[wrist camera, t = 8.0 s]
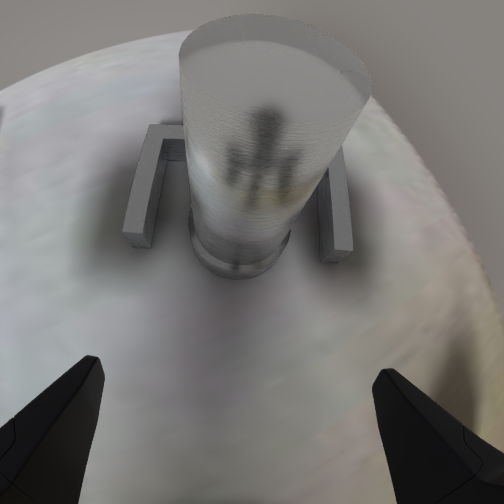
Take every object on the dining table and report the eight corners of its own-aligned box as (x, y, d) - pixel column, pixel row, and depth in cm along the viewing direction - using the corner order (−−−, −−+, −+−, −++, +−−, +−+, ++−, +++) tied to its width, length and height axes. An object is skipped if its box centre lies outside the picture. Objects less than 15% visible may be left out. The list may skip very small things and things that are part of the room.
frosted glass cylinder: (301, 237, 19) (410, 86, 7) (236, 299, 18) (289, 180, 5) (239, 177, 20) (272, 0, 8) (172, 230, 18) (126, 50, 6)
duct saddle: (337, 263, 19) (383, 227, 13) (132, 246, 18) (102, 202, 12) (325, 125, 23) (350, 73, 17) (165, 108, 22) (158, 50, 16)
